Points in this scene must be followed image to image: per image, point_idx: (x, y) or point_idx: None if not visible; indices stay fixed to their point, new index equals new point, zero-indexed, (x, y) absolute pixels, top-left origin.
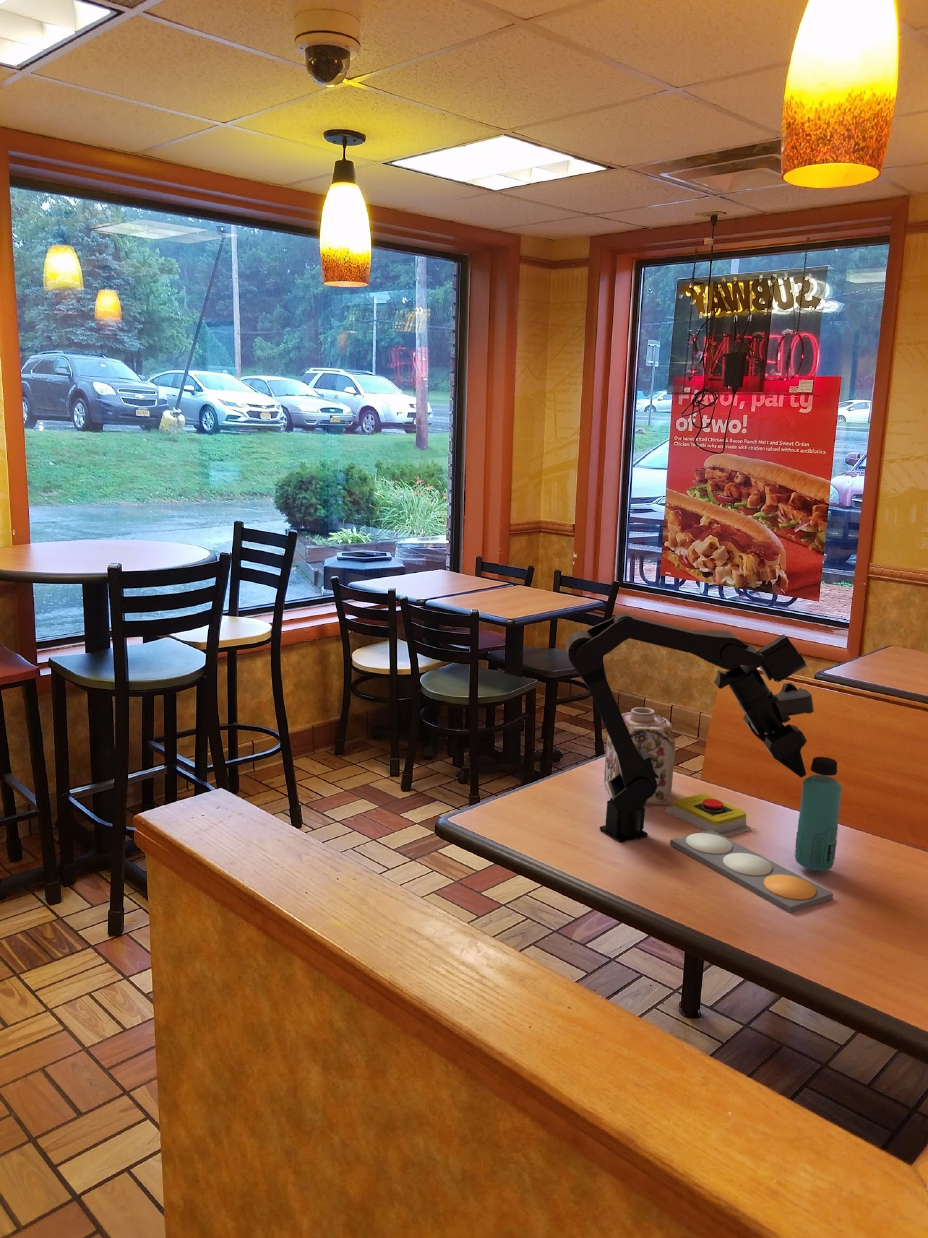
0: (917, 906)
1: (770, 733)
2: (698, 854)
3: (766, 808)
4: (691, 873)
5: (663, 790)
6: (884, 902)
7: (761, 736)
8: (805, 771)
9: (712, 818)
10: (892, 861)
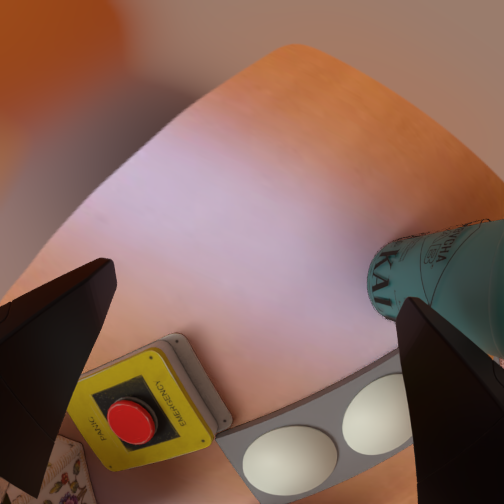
0: (482, 162)
1: (10, 427)
2: (332, 484)
3: (73, 244)
4: (373, 489)
5: (70, 468)
6: (481, 206)
7: (36, 466)
8: (431, 308)
9: (196, 443)
10: (341, 96)
